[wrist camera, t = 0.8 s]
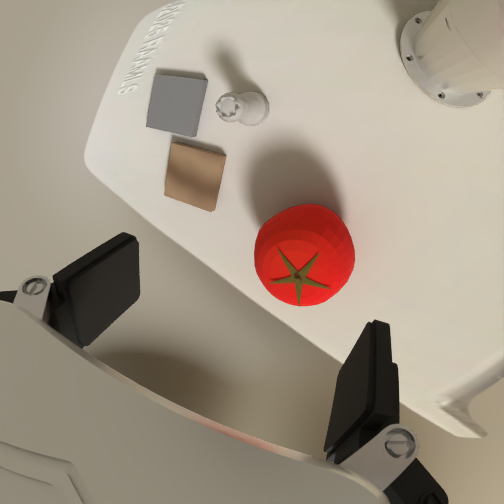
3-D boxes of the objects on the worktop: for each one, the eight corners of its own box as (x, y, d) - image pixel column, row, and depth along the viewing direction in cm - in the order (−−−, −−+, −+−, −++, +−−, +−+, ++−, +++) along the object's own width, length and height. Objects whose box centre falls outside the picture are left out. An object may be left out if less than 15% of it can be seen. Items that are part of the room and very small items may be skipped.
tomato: (301, 290, 42) (284, 337, 33) (251, 227, 41) (220, 261, 32) (372, 251, 36) (375, 295, 27) (321, 177, 35) (308, 199, 26)
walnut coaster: (176, 142, 39) (171, 143, 38) (226, 155, 37) (222, 157, 36) (168, 193, 43) (164, 195, 42) (215, 209, 41) (211, 212, 40)
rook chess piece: (241, 129, 35) (213, 133, 28) (232, 97, 34) (202, 94, 27) (274, 120, 33) (253, 121, 27) (264, 87, 32) (241, 80, 25)
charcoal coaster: (160, 74, 35) (155, 74, 34) (208, 80, 33) (203, 79, 32) (150, 126, 39) (145, 126, 38) (196, 136, 37) (191, 137, 36)
